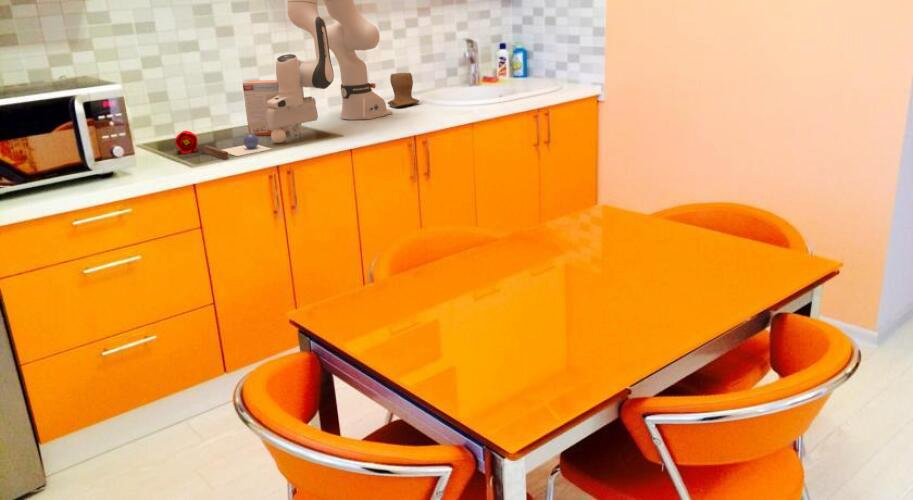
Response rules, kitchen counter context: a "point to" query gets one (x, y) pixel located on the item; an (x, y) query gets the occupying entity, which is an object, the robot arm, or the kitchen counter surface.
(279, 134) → the cue ball
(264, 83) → the cracker box
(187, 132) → the flower
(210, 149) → the rail
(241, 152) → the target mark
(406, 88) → the brown flared piece
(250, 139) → the navy ball
